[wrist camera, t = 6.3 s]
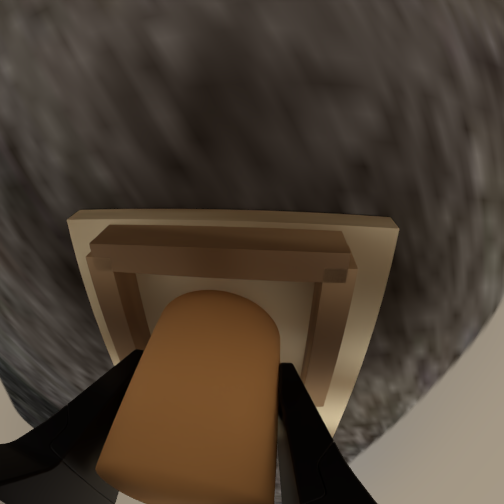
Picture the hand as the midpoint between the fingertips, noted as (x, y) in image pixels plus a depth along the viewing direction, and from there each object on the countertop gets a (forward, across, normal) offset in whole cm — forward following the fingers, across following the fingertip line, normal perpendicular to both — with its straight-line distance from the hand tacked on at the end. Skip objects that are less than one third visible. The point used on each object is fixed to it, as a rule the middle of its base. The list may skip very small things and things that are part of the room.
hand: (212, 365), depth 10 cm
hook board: (+4, 0, +3) cm, 5 cm away
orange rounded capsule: (+1, 0, 0) cm, 1 cm away
